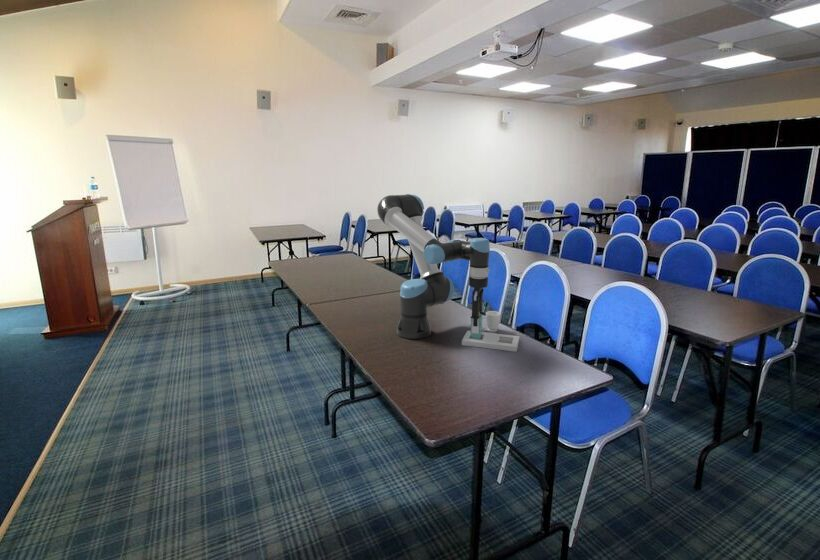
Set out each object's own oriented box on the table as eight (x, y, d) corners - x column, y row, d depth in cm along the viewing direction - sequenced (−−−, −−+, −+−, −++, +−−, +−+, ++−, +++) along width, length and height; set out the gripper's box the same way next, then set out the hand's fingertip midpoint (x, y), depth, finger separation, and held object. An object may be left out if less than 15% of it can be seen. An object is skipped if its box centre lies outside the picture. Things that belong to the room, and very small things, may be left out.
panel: (461, 344, 172) (461, 340, 171) (467, 334, 183) (467, 330, 182) (516, 351, 165) (516, 346, 164) (519, 340, 176) (519, 336, 175)
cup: (503, 331, 186) (504, 314, 184) (482, 334, 183) (483, 316, 181) (495, 326, 193) (496, 309, 191) (475, 329, 190) (476, 312, 188)
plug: (470, 339, 174) (471, 312, 172) (472, 335, 178) (473, 309, 175) (479, 340, 173) (481, 313, 170) (481, 336, 177) (482, 310, 174)
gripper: (484, 282, 160) (481, 339, 166) (490, 272, 176) (488, 325, 182) (465, 280, 162) (463, 337, 168) (473, 271, 178) (471, 323, 184)
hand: (476, 330), depth 175 cm, fingers closed on plug, 4 cm apart
